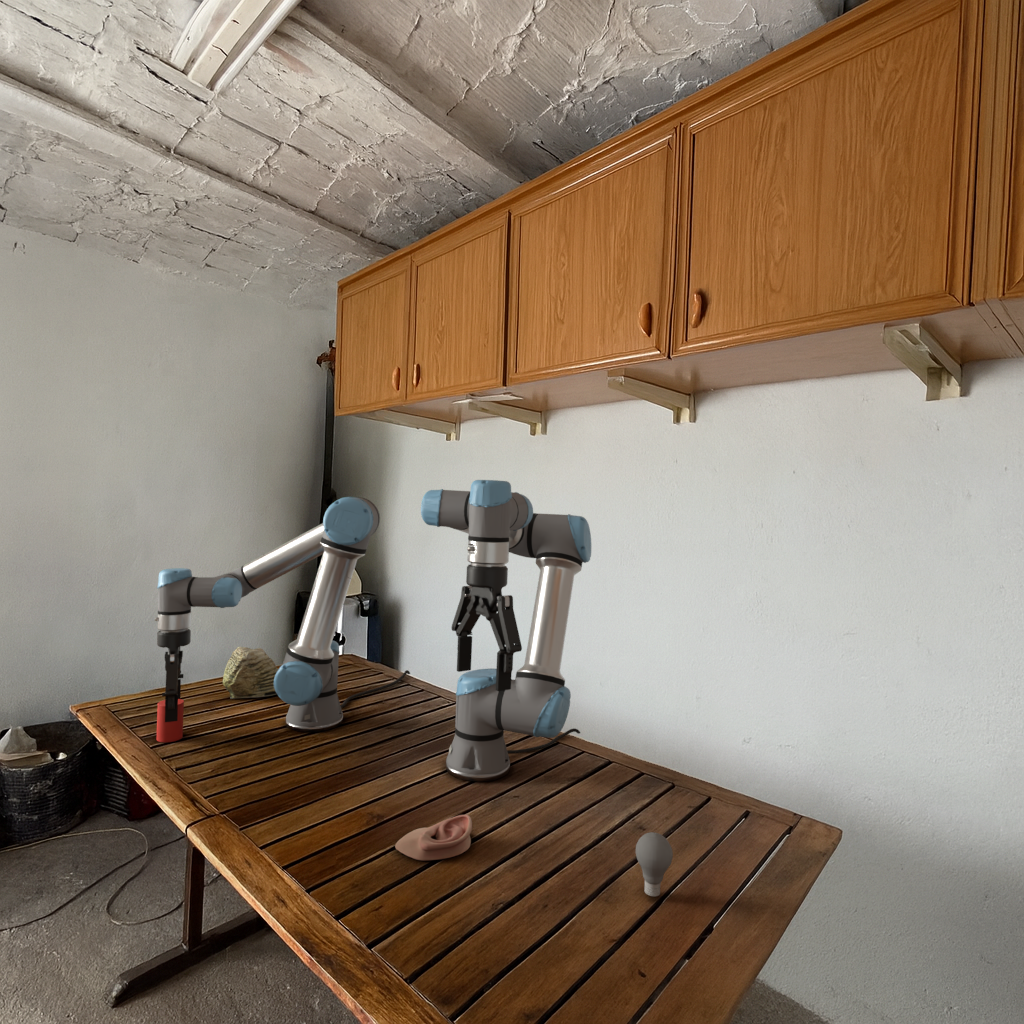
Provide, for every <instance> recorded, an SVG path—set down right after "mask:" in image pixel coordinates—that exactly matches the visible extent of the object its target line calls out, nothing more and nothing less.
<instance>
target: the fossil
mask: <svg viewBox="0 0 1024 1024" xmlns="http://www.w3.org/2000/svg"><path fill="white" fill-rule="evenodd" d="M278 669H279V668H278V667H277V665H276V663H275V662H274V660H273V659H272V658H271V657H270V656H269V655H268V654H267V653H266V652H265V650H264V649H263V648H260V647H258V648H251V647H247V646H246V647H245V646H238V647H237V648H236V649H235V650H233V651H232V653H231V656H230V657H229V659H228V660H227V663H226V666H225V668H224V671H223V675H222V676H223V677H222V685H223V687H224V688H225V690H226V691H228V693H229V698H230V699H250V698H264V697H271V696H275V695H277V693H276V691H275V688H274V677H275V675H276V672H277V671H278Z"/></svg>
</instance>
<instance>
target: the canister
mask: <svg viewBox="0 0 1024 1024" xmlns="http://www.w3.org/2000/svg"><path fill="white" fill-rule="evenodd" d="M184 706H185V701H184V699H181V698H180V699H178V720H177V721H173V722H165V699H163V700H160V701H158V702H157V709H156V710H157V711H156V712H157V715H156V741H157V742H159V743H172V742H173V743H174V742H176V741H180V740H182V738H184V737H183V736H184V713H185V712H184V709H185V707H184Z"/></svg>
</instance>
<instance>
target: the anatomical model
mask: <svg viewBox="0 0 1024 1024" xmlns="http://www.w3.org/2000/svg"><path fill="white" fill-rule="evenodd" d="M472 830H473V821H472V818H471V816H470V815H469V814H459V815H456V816H452V817H450V818H447V819H444V820H442V821H440V822H437V823H436V824H435V823H434V824H433V825H431V826H429V827H420V828H417V829H413V830H412V831H409V832H408V833H406V834H405V835H403V836H402V837H401V838H400V839H399V840H397V842H396V843H395V845H394V848H395V849H396V851H398V852H400V853H401V854H403V855H405V856H406V857H408V858H412V859H414V860H417V861H436V860H437V861H438V860H444V859H450V858H453V857H456V856H459V855H462V854H463V853H464V852H467V851H468V850H469V848H470V847H471V844H472V839H471V833H472Z"/></svg>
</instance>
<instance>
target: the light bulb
mask: <svg viewBox="0 0 1024 1024" xmlns="http://www.w3.org/2000/svg"><path fill="white" fill-rule="evenodd" d="M673 853H674V852H673V848H672V845H671V844H670V842H669V841H668V839H667V838H666V837H665V836H664V835H662V834H661V833H659V832H654V831H652V832H647V833H644V834H643V835H641V837H639V839H638V840H637V842H636V843H635V857H636V860H637V862H638V864H639V866H640V868H641V870H642V877H643V879H644V888H643V890H644V893H645V894H646V895H648V896H650V897H658V896H660V895H661V884H662V882H663V880H664V875H665V873H666V872H667V870H668V869H669V868H670V866H671V864H672V861H673V858H674V857H673V856H674V854H673Z"/></svg>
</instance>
